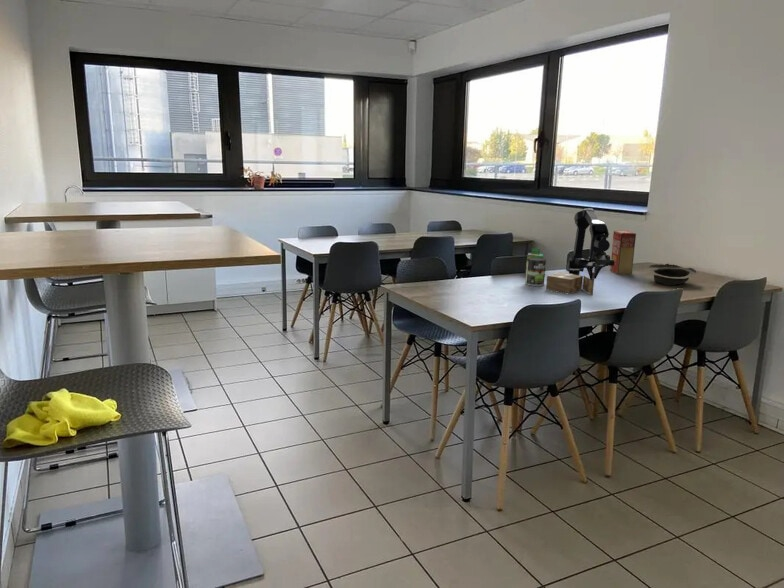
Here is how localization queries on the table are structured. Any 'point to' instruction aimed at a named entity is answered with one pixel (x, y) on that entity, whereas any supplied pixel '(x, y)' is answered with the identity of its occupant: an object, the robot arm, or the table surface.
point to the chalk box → (535, 254)
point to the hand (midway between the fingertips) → (592, 278)
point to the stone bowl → (671, 274)
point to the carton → (564, 282)
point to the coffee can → (535, 271)
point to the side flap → (588, 284)
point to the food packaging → (623, 252)
